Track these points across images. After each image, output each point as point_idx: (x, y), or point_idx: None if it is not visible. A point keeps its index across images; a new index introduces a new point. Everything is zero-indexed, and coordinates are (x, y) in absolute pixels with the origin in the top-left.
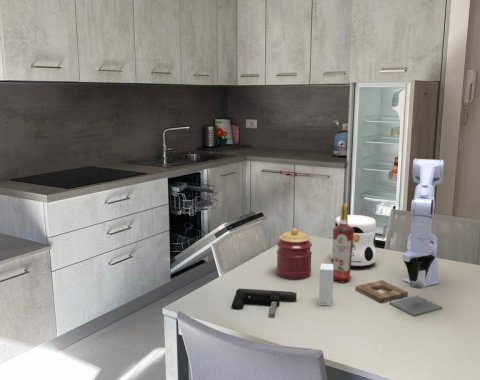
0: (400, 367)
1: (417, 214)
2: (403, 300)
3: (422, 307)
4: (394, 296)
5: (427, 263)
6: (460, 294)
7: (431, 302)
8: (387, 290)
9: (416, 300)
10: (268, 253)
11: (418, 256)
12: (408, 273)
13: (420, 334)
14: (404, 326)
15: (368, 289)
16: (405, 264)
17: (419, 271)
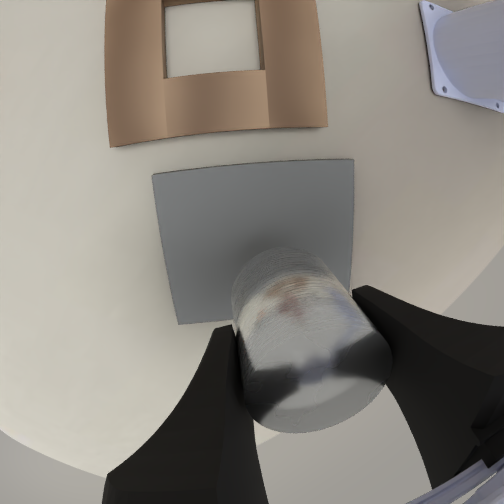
0: (35, 441)
1: None
2: (240, 179)
3: None
4: (217, 131)
5: (418, 432)
6: (487, 220)
7: (349, 252)
8: (259, 33)
9: (305, 206)
10: None
11: None
12: (201, 363)
13: (125, 403)
14: (101, 358)
15: (134, 16)
16: (149, 439)
17: (286, 424)
